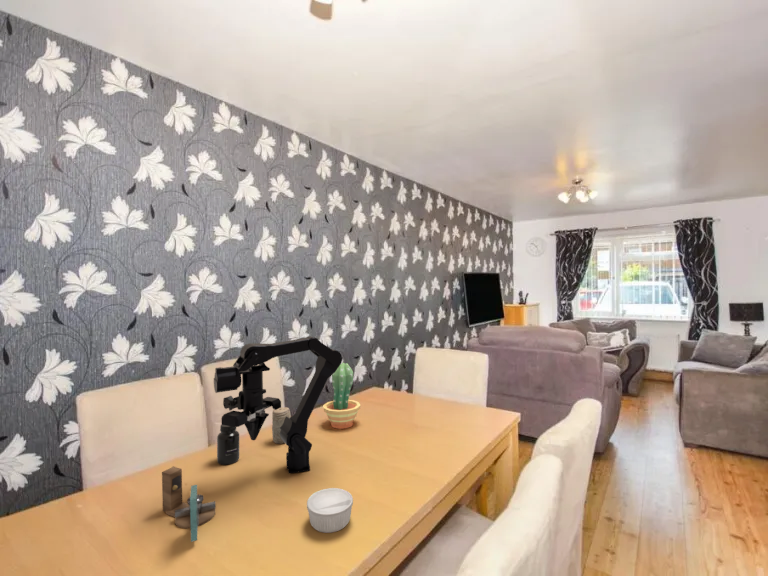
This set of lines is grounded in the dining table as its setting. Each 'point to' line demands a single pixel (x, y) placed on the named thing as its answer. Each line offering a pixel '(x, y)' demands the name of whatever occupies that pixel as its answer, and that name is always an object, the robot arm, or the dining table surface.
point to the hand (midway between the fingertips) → (253, 439)
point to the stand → (179, 499)
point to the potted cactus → (342, 399)
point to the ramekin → (330, 509)
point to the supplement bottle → (227, 445)
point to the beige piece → (279, 423)
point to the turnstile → (194, 510)
